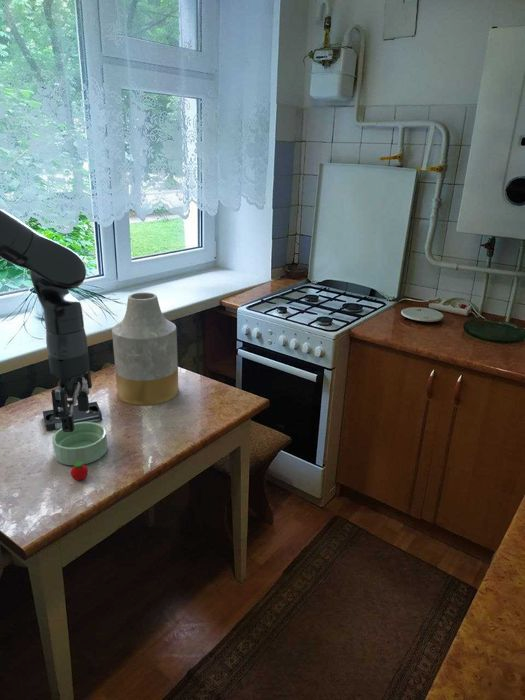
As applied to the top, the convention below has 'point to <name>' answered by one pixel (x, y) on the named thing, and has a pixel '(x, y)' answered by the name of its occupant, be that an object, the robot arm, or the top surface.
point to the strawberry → (79, 471)
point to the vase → (145, 353)
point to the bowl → (80, 443)
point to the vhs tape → (78, 416)
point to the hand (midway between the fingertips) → (76, 420)
